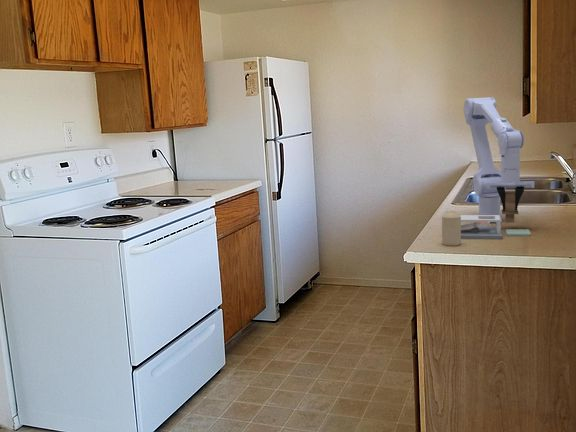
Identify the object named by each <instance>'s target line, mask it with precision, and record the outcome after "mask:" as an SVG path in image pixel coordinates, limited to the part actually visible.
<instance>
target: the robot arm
mask: <svg viewBox="0 0 576 432" xmlns="http://www.w3.org/2000/svg"><path fill="white" fill-rule="evenodd" d="M463 115H464V119H465V122H466V124H467V125H468V126H469V127H470V131H471V137H472V141H473V147H474V151H475V156H476V160H477V165H478V170H477V171H476V172H475V174H474V175H473V177H472V179H473V184H472V185H473V192H474V193H475V195H476V196H478V215H499V216H500V220H501V223H502V222H503V220H502V215H501V204H502V210H505V192H506V190H507V189H510V188H511V189H514V192H515V210H518V207H519V203H520V200H521V197H522V195H523V194H524V192H525V189H535V181H534V180H533V181H532V180H530V181H529V180H520V179H521V177H520V176H521V175H520V174H521V169H520V168H521V149H522V148H523V146H524V143H525V137H524V134H523V132H522V130H518V129H515V128H514V127H513V126H512V125H511V124H510V122H509V121H508V119H507V118H506V117H501V115H500V114H499V111H498V110H497V101H496V99H495V98H494V97H493V96H489V97H474V98H471V97H467V98H466V99H465V102H464V103H463ZM488 124H491V125H490V129H491V131H492V132H493V134H494V135H495V136H496V138H497V139H498V140H497V145H498V148H499V154H500V155H501V157H500V163H501V164H500V169H498V168H496V167H495V165H494V161H493V156H492V151H491V147H490V143H489V137H488V133H487V129H486V126H487V125H488ZM479 219H495V218H479Z"/></svg>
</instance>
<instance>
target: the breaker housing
mask: <svg viewBox="0 0 576 432" xmlns="http://www.w3.org/2000/svg"><path fill="white" fill-rule="evenodd" d="M459 215H460V216H461V223H465V222H466V223H474V222H490V223H495V226H491V225H487V226H482V227H477V228H472V229H467V230H461V240H462V239H463V240H464V239H465V240H467V239H469V240H472V239H473V240H476V239H477V240H480V239H481V240H503V239H504V238H503V236H504V235H503V231H502V226H501V224H502V222H501V220H500V216H501V215H500V216H499V215H479V214H469V215H468V214H459ZM479 218H495V219H479Z"/></svg>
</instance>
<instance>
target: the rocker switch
mask: <svg viewBox="0 0 576 432" xmlns="http://www.w3.org/2000/svg"><path fill="white" fill-rule="evenodd" d="M482 226H491V222H469V223H465V224H461V230H467V229H472V228H477V227H482Z"/></svg>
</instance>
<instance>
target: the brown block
mask: <svg viewBox="0 0 576 432" xmlns="http://www.w3.org/2000/svg"><path fill="white" fill-rule="evenodd" d="M500 212H501V215H504V217H505V223H509V224H510V223H515V215H519V210H518V209H517V210H515V191H510V192H509V191H505V210H503V209H500Z"/></svg>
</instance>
